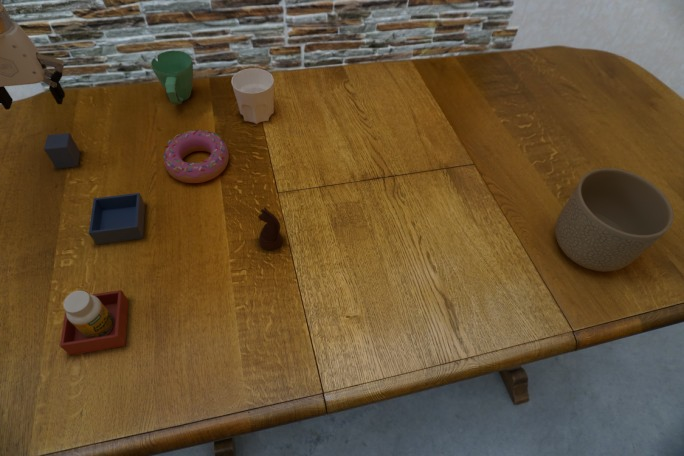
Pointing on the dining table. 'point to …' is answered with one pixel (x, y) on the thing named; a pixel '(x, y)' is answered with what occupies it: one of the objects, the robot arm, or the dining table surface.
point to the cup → (254, 94)
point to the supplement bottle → (88, 314)
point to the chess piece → (270, 231)
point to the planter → (612, 219)
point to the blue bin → (117, 218)
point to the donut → (192, 143)
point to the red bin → (79, 343)
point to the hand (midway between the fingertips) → (35, 102)
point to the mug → (174, 74)
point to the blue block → (62, 150)
